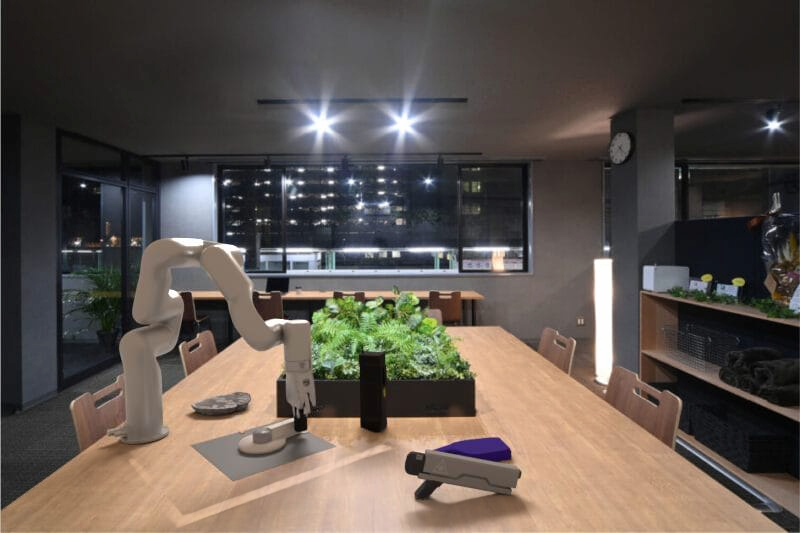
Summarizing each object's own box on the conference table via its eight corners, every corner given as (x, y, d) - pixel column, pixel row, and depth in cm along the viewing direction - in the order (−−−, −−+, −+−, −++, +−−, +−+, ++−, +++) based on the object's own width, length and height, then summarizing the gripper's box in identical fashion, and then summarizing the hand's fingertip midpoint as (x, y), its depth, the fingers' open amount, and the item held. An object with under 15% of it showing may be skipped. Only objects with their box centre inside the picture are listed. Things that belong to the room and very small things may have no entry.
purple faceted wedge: (498, 434, 132) (409, 444, 127) (515, 450, 121) (418, 462, 117) (498, 445, 132) (409, 455, 127) (515, 462, 121) (419, 474, 117)
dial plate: (233, 487, 110) (233, 480, 110) (190, 450, 131) (190, 444, 131) (336, 451, 129) (336, 445, 129) (284, 424, 150) (284, 418, 150)
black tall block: (391, 426, 147) (389, 343, 146) (384, 433, 141) (382, 347, 140) (367, 423, 149) (365, 342, 148) (359, 430, 144) (357, 346, 143)
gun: (398, 489, 106) (407, 445, 105) (509, 510, 107) (519, 465, 107) (398, 495, 103) (408, 449, 103) (513, 516, 105) (523, 471, 104)
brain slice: (213, 422, 153) (213, 413, 153) (184, 412, 163) (184, 403, 163) (265, 406, 168) (265, 397, 168) (236, 397, 179) (235, 389, 179)
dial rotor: (255, 458, 121) (255, 442, 121) (230, 446, 129) (229, 431, 129) (312, 436, 135) (312, 422, 135) (286, 426, 143) (285, 413, 143)
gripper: (322, 367, 131) (325, 435, 131) (299, 358, 143) (302, 420, 144) (296, 372, 126) (299, 442, 127) (275, 362, 139) (277, 426, 139)
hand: (300, 430), depth 135 cm, fingers closed
